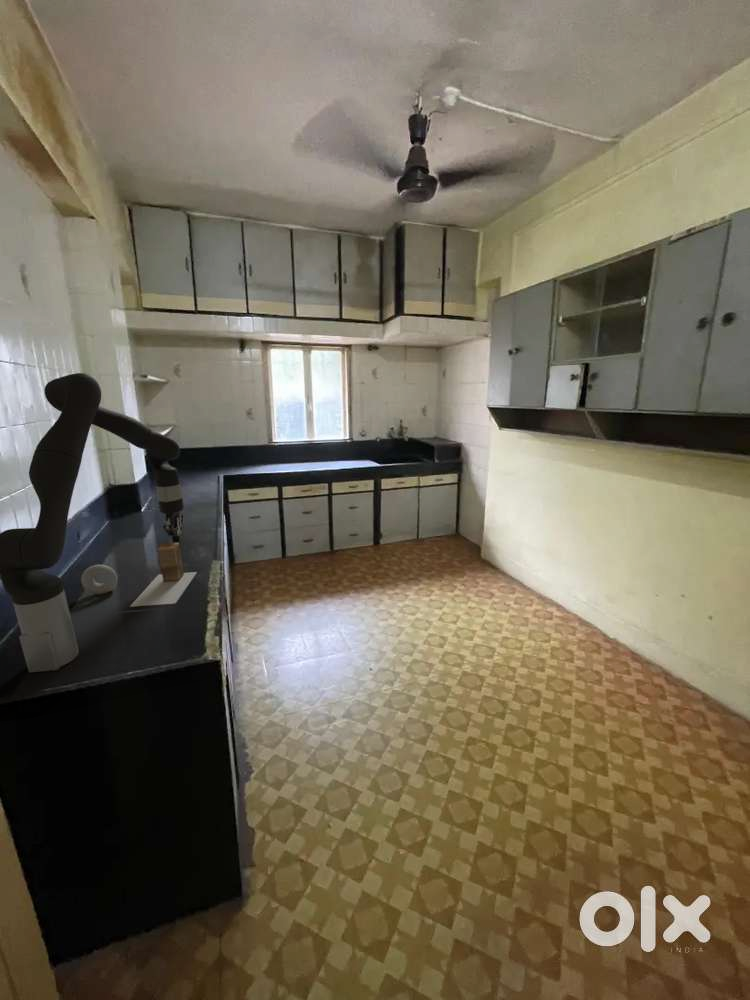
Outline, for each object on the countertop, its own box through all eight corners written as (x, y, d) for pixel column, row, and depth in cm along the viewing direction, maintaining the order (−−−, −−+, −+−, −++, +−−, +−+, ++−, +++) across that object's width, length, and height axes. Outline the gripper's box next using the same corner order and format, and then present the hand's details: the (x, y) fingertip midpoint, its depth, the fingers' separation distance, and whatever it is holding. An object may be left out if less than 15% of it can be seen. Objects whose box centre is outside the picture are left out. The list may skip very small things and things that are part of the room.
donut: (82, 598, 127) (76, 569, 124) (87, 593, 130) (80, 564, 127) (118, 593, 129) (112, 565, 127) (121, 589, 132) (116, 560, 130)
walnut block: (179, 581, 136) (173, 547, 133) (163, 582, 136) (157, 548, 133) (183, 574, 141) (179, 542, 138) (168, 575, 141) (163, 543, 137)
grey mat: (175, 604, 122) (175, 603, 122) (129, 608, 121) (129, 606, 120) (197, 573, 143) (197, 572, 143) (158, 575, 142) (158, 574, 142)
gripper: (165, 493, 144) (172, 539, 149) (150, 503, 132) (158, 552, 136) (187, 492, 145) (194, 537, 150) (174, 502, 133) (182, 551, 137)
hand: (177, 544), depth 143 cm, fingers closed
